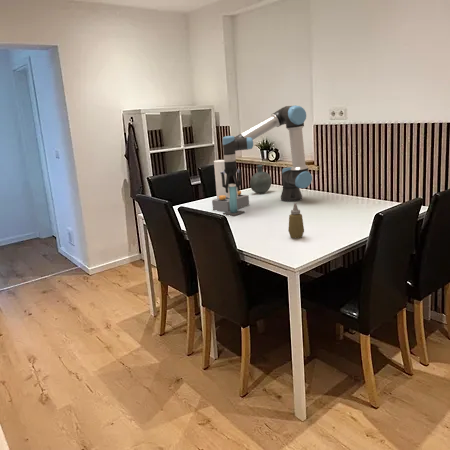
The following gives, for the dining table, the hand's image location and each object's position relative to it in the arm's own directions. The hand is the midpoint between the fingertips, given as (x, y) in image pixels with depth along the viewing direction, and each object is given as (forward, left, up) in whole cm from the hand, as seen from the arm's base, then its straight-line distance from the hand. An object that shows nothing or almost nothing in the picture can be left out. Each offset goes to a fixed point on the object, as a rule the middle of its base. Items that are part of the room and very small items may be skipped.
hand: (232, 197), depth 284 cm
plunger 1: (+13, -4, -10) cm, 17 cm away
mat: (0, 0, -11) cm, 11 cm away
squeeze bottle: (-64, +24, -11) cm, 69 cm away
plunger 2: (+13, -20, -10) cm, 26 cm away
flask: (+23, -59, -11) cm, 64 cm away
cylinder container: (+35, -28, -11) cm, 46 cm away
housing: (+13, -12, -11) cm, 21 cm away
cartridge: (0, 0, -10) cm, 10 cm away
